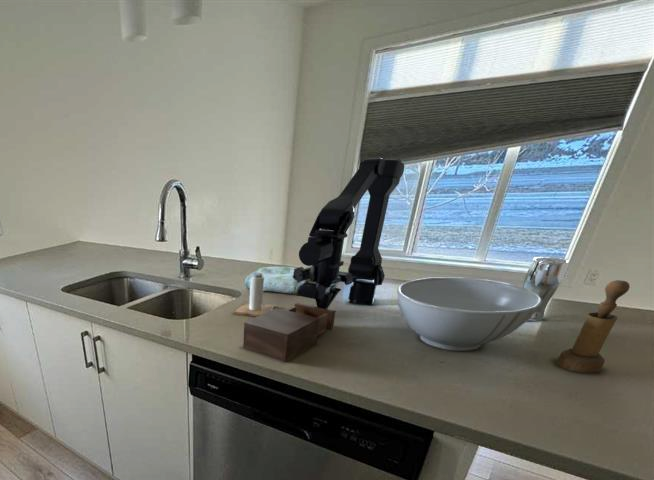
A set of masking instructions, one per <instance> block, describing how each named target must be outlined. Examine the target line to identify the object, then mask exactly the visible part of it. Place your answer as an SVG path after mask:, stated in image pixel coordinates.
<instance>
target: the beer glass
mask: <svg viewBox="0 0 654 480" xmlns="http://www.w3.org/2000/svg"><path fill="white" fill-rule="evenodd" d="M569 262H570V260H569V259H567V258H563V257H554V256H538V257H537V256H536V257H534V258H533V259H532V261H531V264H530V266H529V268H528V269H527V271H526V274H525V276H524V280H523V285H522V288H525V289H527V290H530V291H532V292H534V293H536V294H537V295H538V296H539V297H540V298H541V299H542V303H541V305H540V307H539V308H538V310H537V311H536V312H535V313H534V314H533V315H532V316H531V317H530V318H529V319H528V320H527V321H530V322H538V321H539V322H540V321H542V320H544V317H545V311H546V308H547V306H548V303H549V302H550V301H551V299H552V298H553V296H554V295H555V293H556V292H557V291H558V289H559V287H560V285H561V284H562V281H563V280H564V276H565V274H566V271H567V269H568V267H569V266H568V265H569ZM527 321H526V322H527Z"/></svg>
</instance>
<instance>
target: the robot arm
mask: <svg viewBox="0 0 654 480" xmlns="http://www.w3.org/2000/svg"><path fill="white" fill-rule="evenodd" d="M404 173H405V163H404V162H402V159H401V158H381V157H371V158H369V157H368V158H365V159H362V160H361V161H360V163H359V166H358V169H357V170H356V172H355V173H354V174H353V175H352V177H351V178H350V179H349V181H348V182H347V184H346V185H345V187H344V188H343V190H342V191H341V192H340V194H339V195H338V196H336V197H335V198H333V199H331V200H329V201H328V202H327V203H326V204H325V205H324V206H323V207H322V208H321V209H320V211H319V212H318V214H317V216H316V219H315V221H314V223H313V225H312V227H311V229H310V232H309V235H308V236H309V237H307V242H305V243H304V244H302V246H301V247H300V249H299V252H298V259H299V260H300V262H301V263H302V265H305V266H307V267H303V266H301V267H300V266H299V267H295V268H296V269H294V272H293V278H294V279H295V280H297V283H298V282H301V281H304V280H306V282H305V283H304V284H302V285H300V286H299V287H298V288H297V291H296V293H295V294H296V295H295V296H298V297H303V298H308V299H312V300H315V304H316V307H319V308H324V309H328V308H329V307H330V305H331V304H332V302H333V301H334V300H335V298H336V297H337V295H338V294H339V293H340V292H341V290H342V288H339V287H337V284H338V283H344V285H345V286H349V285H351V286H350V288H349V293H348V303H349V304H354V305H363V306H365V305H366V306H372V305H373V303H374V301H375V295H376V289H377V286H383V282H384V280H385V277H386V275H385V272H384V269H383V266H382V262H383V257H382V254H381V253H380V252H381V251H380V250H379V247H380V241H381V237H382V233H383V228H384V223H385V218H386V214H387V209H388V204H389V201H390V196H391V194H392V193H393V192H394V191H395V189H396V188H397V187H398V186H399V184H400V181H401V178H402V176H403V175H404ZM366 192H368V195H369V199H368V205H367V210H366V215H365V219H364V225H363V231H362V236H361V241H360V247H359V249H358V251H357V252H356V253H355V254H354V255H352V256H351V257H350V263H349V266H348V269H347V271H342V270H341V271H340V267H343V266H344V263H345V261H344V260H342V257H343V256H342V255H343V248H344V242H345V238H347V237H348V236H349V235H348V233H347V232H348V230H349V228H350V227H351V225H352V224H353V222H354V219H355V216H356V215H355V209H356V208H357V207H356V206H357V205H358V204H359V202H360V201H361V200H362V198H363V197H364V195H365V194H366ZM308 281H309V282H308Z"/></svg>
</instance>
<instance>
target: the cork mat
mask: <svg viewBox="0 0 654 480" xmlns="http://www.w3.org/2000/svg"><path fill="white" fill-rule="evenodd" d="M275 308H276V304H268V303H262V309H261V310H250V309H249V301H245V302H244V303H243V304H242V305H240V306H239V307H238V308H237V309H235V311H234V314H233V315H240V316H249V317H257V316H260V315H262V314H264V313H266V312H268V311H271V310H273V309H275Z"/></svg>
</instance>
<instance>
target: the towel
mask: <svg viewBox="0 0 654 480" xmlns="http://www.w3.org/2000/svg"><path fill="white" fill-rule="evenodd" d="M296 268H297V267H293V266H292V267H291V266H279V265H278V266H263V267H259V268H258V269H257V270H255V271H253V272H252V273H250V274H248V276H246V279H245V282H244V287H245V288H246V289H250V277H251V276H253V273H262V276H264V284H263V292H271V293H280V294H290V295H294V294H297V288H298V287H299V286H300V285H302V284H305V283H306V282H307V280H304V281H301V282H298V283H297V280H295V279H294V278H293V272H294V269H296Z"/></svg>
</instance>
